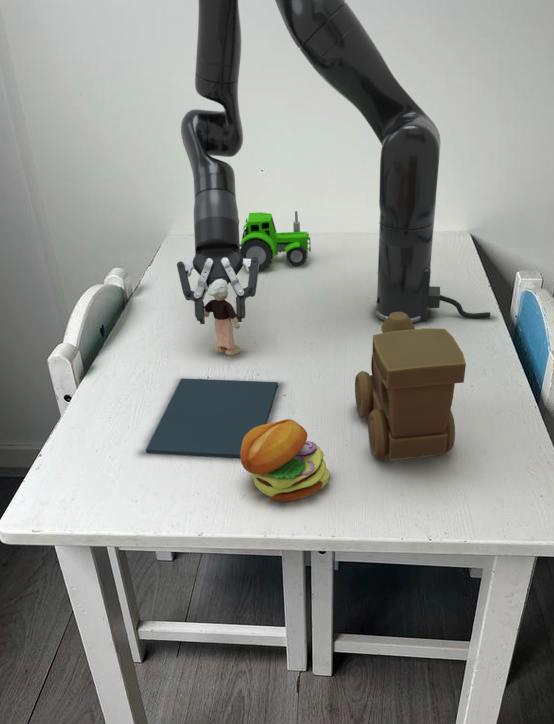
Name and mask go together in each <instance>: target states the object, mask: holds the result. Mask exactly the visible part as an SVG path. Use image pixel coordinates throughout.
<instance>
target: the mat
mask: <svg viewBox="0 0 554 724" xmlns="http://www.w3.org/2000/svg"><path fill="white" fill-rule="evenodd" d="M278 385H279V383H278V381H261V380H260V381H259V380H258V381H256V380H234V379H233V380H232V379H231V380H230V379H204V378H203V379H202V378H180V380H179V382H178V385H177V387H176V389H175V391H174V393H173V395H172V397H171V399H170V401H169V402H168V405H167V407H166V408H165V410H164V412H163V414H162V417H161V419H160V421H158V424H157V426H156V429H155V430H154V432H153V434H152V437H151V438H150V440H149V442H148V444H147V446H146V448H145V453H146V454H162V455H178V456H179V455H180V456H196V457H197V456H198V457H199V456H201V457H215V458H232V459H233V458H235V459H241V456H240V452H241V446H242V441H243V439H244V437H245V436H246V434H247V433H248V432H249V431H250V430H252V429H253V428H255V427H258V426H261V425H264V424H268V423H267V422H268V419H269V416H270V412H271V409H272V406H273V403H274V399H275V396H276V393H277V389H278Z"/></svg>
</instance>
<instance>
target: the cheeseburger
mask: <svg viewBox="0 0 554 724" xmlns="http://www.w3.org/2000/svg"><path fill="white" fill-rule="evenodd" d="M240 456H241V458H240V463H241V466H242V467H243V469H244V470H245V471H247V472H248V473H249V474H251V475H252V478H253V481H254V485H255V487H256V488H257V489H258V490H259V491H260V492H261V493H262V494H263V495H264V496H266V497H268V498H270V499H271V500H273V501H277V502H285V503H286V502H291V501H296V500H300V499H304V498H306V497H309V496H311V495H313V494H315V493H316V492H318V491H319V490H322V489H324V488H325V486H326V485H327V484H328V482H329V481H330V472H329V469H328V468H327V463H326V461H325V460H324V457H325V453H324V452H323V450H322V449H321V447H320V446H318V445H317V444H316V443H315V442H313V441H309V440H308V432H307V431H306V429H305V428H304V427H303V426H302V425H301V424H300V423H299V422H298V421H295V420H293V419H290V418H288V419H287V418H286V419H282V420H278V421H275V422H269V423H266V424H264V425H261V426H258V427H255V428H253V429H252V430H250V431H249V432H248V433H247V434H246V436H245V437H244V439H243V441H242V446H241V452H240Z"/></svg>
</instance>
